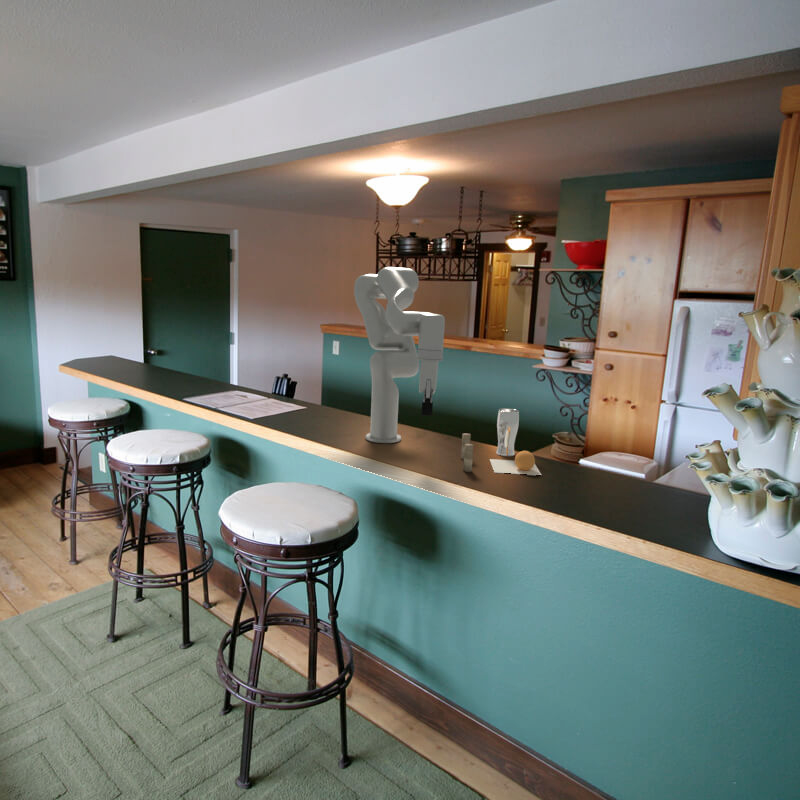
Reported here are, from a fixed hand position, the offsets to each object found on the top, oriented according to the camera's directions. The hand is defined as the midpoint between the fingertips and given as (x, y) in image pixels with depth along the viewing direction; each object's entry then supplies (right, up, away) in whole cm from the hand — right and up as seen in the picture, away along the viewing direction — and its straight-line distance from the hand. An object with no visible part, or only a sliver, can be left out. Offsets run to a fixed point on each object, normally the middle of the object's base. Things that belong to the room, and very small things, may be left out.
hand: (426, 414), depth 174 cm
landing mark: (+27, -16, +1) cm, 32 cm away
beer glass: (+27, -14, +16) cm, 34 cm away
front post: (+12, -17, -4) cm, 21 cm away
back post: (+13, -14, +9) cm, 21 cm away
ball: (+30, -14, -2) cm, 33 cm away
